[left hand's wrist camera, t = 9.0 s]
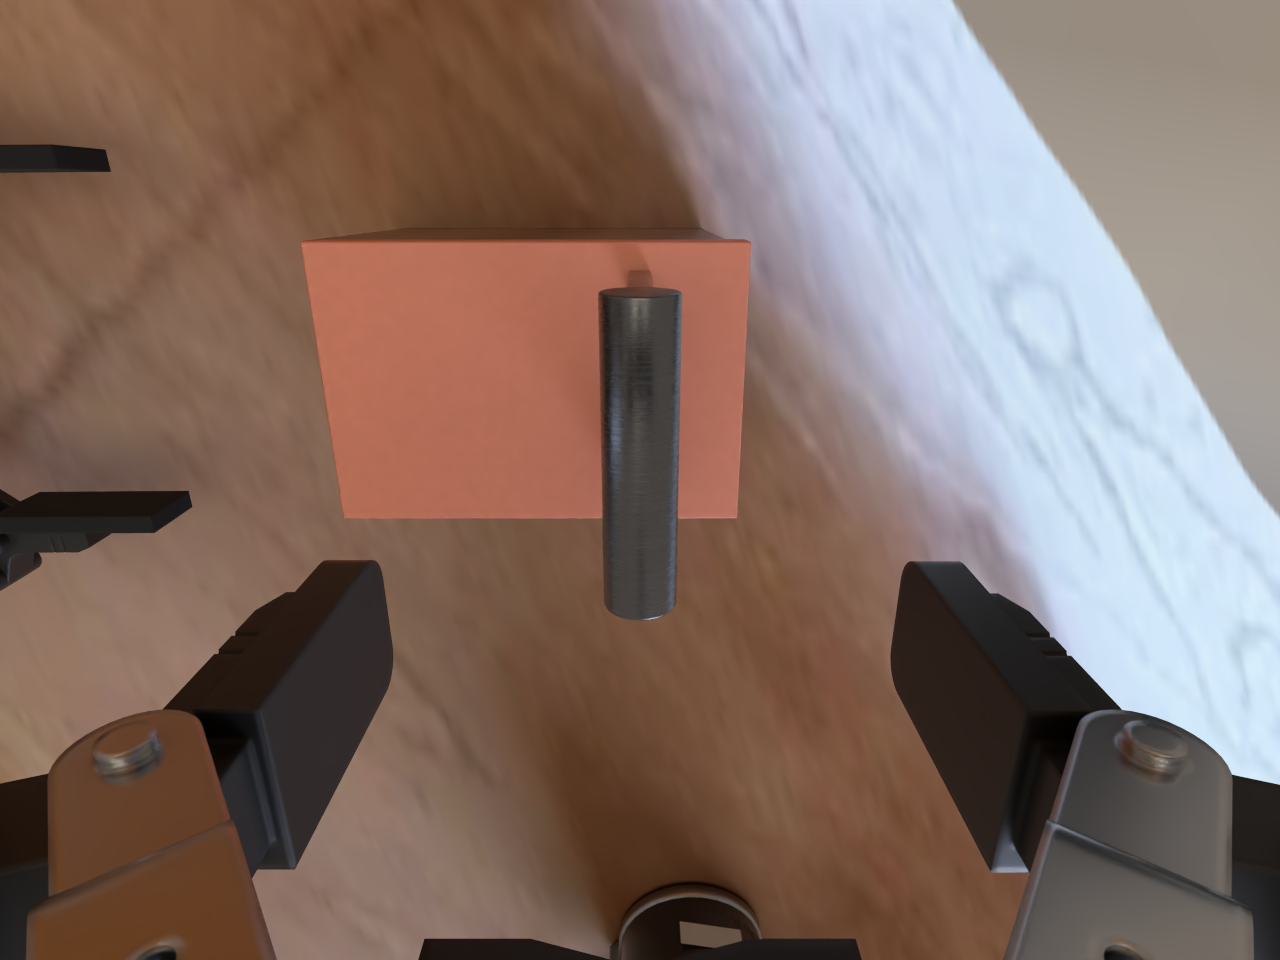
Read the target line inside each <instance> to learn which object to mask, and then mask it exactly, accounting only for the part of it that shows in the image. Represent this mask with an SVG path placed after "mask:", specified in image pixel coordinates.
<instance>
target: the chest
mask: <svg viewBox="0 0 1280 960" xmlns="http://www.w3.org/2000/svg"><path fill="white" fill-rule="evenodd" d="M324 239H723V238H721V237H719V236H716V235H714V234H712V233H710V232H708V231H706V230H703V229H702V228H405V229H397V230H389V231H381V232H373V233H365V234H357V235H349V236H341V237H332V238H324Z"/></svg>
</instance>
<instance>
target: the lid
mask: <svg viewBox="0 0 1280 960" xmlns="http://www.w3.org/2000/svg"><path fill="white" fill-rule="evenodd" d="M301 249H302V255H303V261H304V268H305V274H306V281H307V287H308V293H309V300H310V306H311V312H312V319H313V325H314V332H315V338H316V344H317V351H318V357H319V364H320V370H321V376H322V383H323V389H324V395H325V402H326V408H327V415H328V421H329V427H330V434H331V440H332V447H333V453H334V459H335V466H336V472H337V478H338V485H339V491H340V498H341V504H342V510H343V517H344V518H602V521H603V571H604V604H605V606H606V608H607V609H608V610H609V611H610V612H611V613H613V614H614V615H616V616H618V617H621V618H625V619H630V620H651V619H655V618H659V617H662V616H664V615H666V614H668V613H669V612H670V611H672V609H673V608H674V606H675V604H676V579H677V529H678V518H736V517H737V507H738V488H739V469H740V449H741V430H742V410H743V391H744V371H745V352H746V332H747V313H748V293H749V274H750V254H751V242H750V241H747V240H744V239H316V240H308V241H302V242H301Z"/></svg>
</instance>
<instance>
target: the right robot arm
mask: <svg viewBox="0 0 1280 960" xmlns="http://www.w3.org/2000/svg"><path fill="white" fill-rule="evenodd" d="M8 172H111V171H110V166H109V162H108V158H107V154H106V150H103V149H93V148H82V147H71V146H61V145H0V173H8ZM191 507H192V504H191V499H190V495H189V491H121V492H39V493H37V494H35V495H33V496H31V497H29V498H27V499H24V500H22V501H19V500H17V499H15V498H14V497H12V496H10V495H9V494H7V493H6V492H4V491H2V490H1V489H0V591H1V590H3V589H4V588H6V587H8V586H9V585H11V584H12V583H14V582H16V581H17V580H19V579H21V578H22V577H24V576H26V575H27V574H29V573H30V572H32V571H33V570H35V569H37V568H38V567H40V565H41V563H42V559H41V556H40V554H39V553H38V552H80V551H82V550H85V549H87V548H89V547H91V546H92V545H94V544H96V543H97V542H99V541H100V540H102V539H104V538H105V537H107V536H108V535H110V534H111V533H155V532H156V531H158V530H159V529H161V528H162V527H164V526H165V525H167V524H168V523H170V522H171V521H172V520H174V519H175V518H177V517H178V516H180V515H181V514H183V513H184V512H186V511H187V510H188V509H190V508H191Z"/></svg>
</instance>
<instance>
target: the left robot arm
mask: <svg viewBox="0 0 1280 960" xmlns="http://www.w3.org/2000/svg"><path fill="white" fill-rule="evenodd" d="M1066 652H1067V651H1066V650H1065V649H1064V648H1063V647H1062V646H1061V645H1060V644H1059V643H1058V642H1057V640H1056V639H1055V638H1050V633H1049V632H1048V631H1047V630H1046V629H1045V628H1044V627H1043V626H1042V625H1041V624H1040V622H1039V621H1038V620H1037V619H1036V618H1035V617H1034V616H1033V615H1032V614H1031V613H1030V612H1029V611H1027V610H1025V609H1024V608H1022V607H1020V606H1019V605H1017V604H1015V603H1013V602H1012V601H1010V600H1008V599H1007V598H1005V597H1003V596H1002V595H1000V594H990V593H989V592H988V591H987V590H986V589H985V588H984V586H983V585H982V584H981V583H980V582H979V581H978V580H977V579H976V577H975V576H974V575H973V574H972V573H971V572H970V571H969V570H968V568H967V567H966V566H965V565H964V564H963V563H961V562H957V561H910V562H908V563H907V564H906V565H905V567H904V569H903V572H902V577H901V583H900V590H899V597H898V604H897V611H896V618H895V625H894V632H893V639H892V646H891V671H892V677H893V682H894V685H895V688H896V691H897V693H898V695H899V697H900V699H901V701H902V703H903V705H904V706H905V708H906V710H907V712H908V714H909V716H910V718H911V720H912V722H913V724H914V726H915V728H916V729H917V731H918V733H919V735H920V737H921V739H922V741H923V743H924V745H925V747H926V749H927V751H928V752H929V754H930V756H931V758H932V760H933V762H934V764H935V766H936V768H937V770H938V772H939V774H940V775H941V777H942V779H943V781H944V783H945V785H946V787H947V789H948V791H949V793H950V795H951V797H952V798H953V800H954V802H955V804H956V806H957V808H958V810H959V812H960V814H961V816H962V818H963V820H964V821H965V823H966V825H967V827H968V829H969V831H970V833H971V835H972V837H973V839H974V841H975V843H976V844H977V846H978V848H979V850H980V852H981V854H982V856H983V858H984V860H985V862H986V864H987V866H988V867H989V869H990V871H991V872H1029V873H1030V875H1029V878H1028V881H1027V884H1026V888H1025V891H1024V894H1023V897H1022V901H1021V904H1020V907H1019V910H1018V914H1017V917H1016V920H1015V923H1014V926H1013V930H1012V933H1011V936H1010V939H1009V943H1008V946H1007V949H1006V952H1005V956H1004V959H1003V960H1280V785H1278V784H1273V783H1268V782H1264V781H1259V780H1254V779H1249V778H1244V777H1240V776H1235V775H1232V774H1231V772H1230V769H1229V767H1228V765H1227V764H1226V763H1225V761H1224V760H1223V758H1222V757H1221V756H1220V755H1219V754H1218V753H1217V752H1216V751H1215V750H1214V749H1213V748H1211V747H1210V746H1209V745H1208V744H1206V743H1205V742H1204V741H1202V740H1201V739H1199V738H1198V737H1196V736H1195V735H1193V734H1192V733H1190V732H1188V731H1186V730H1184V729H1183V728H1180V727H1178V726H1176V725H1174V724H1172V723H1170V722H1167V721H1164V720H1162V719H1159V718H1156V717H1153V716H1149V715H1146V714H1142V713H1137V712H1133V711H1125V710H1122V709H1121V708H1120V707H1119V706H1118V705H1117V704H1116V703H1115V702H1114V701H1113V700H1112V699H1111V698H1110V697H1109V696H1108V694H1107V693H1106V692H1105V691H1104V690H1103V689H1102V688H1101V687H1100V686H1099V685H1098V684H1097V683H1096V682H1095V681H1094V680H1093V679H1092V678H1091V676H1090V675H1089V674H1088V673H1087V672H1086V671H1085V670H1084V669H1083V668H1082V667H1081V666H1080V665H1079V664H1078V663H1077V662H1076V661H1075V660H1074V658H1073V657H1072V656H1067V653H1066ZM392 668H393V646H392V639H391V632H390V625H389V618H388V611H387V604H386V596H385V589H384V582H383V576H382V571H381V568H380V566H379V564H378V563H377V562H376V561H374V560H326V561H323V562H321V563H320V564H319V565H318V567H317V568H316V569H315V570H314V571H313V572H312V573H311V575H310V576H309V577H308V578H307V579H306V580H305V581H304V583H303V584H302V585H301V586H300V587H299V588H298V589H297V590H296V592H286V593H284V594H283V595H281V596H279V597H277V598H276V599H274V600H272V601H271V602H269V603H267V604H265V605H264V606H262V607H260V608H259V609H257V610H255V611H254V612H253V614H252V615H251V616H250V617H249V618H248V619H247V620H246V621H245V622H244V623H243V624H242V625H241V626H240V627H239V628H238V630H237V631H236V634H235V636H231V637H230V638H229V639H228V640H227V641H226V642H225V643H224V644H223V646H222V647H221V648H220V649H219V653H218V654H214V655H213V656H212V657H211V658H210V659H209V660H208V662H207V663H206V664H205V665H204V666H203V667H202V668H201V669H200V670H199V671H198V672H197V673H196V674H195V675H194V677H193V678H192V679H191V680H190V681H189V682H188V683H187V684H186V685H185V686H184V687H183V688H182V689H181V690H180V691H179V693H178V694H177V695H176V696H175V697H174V698H173V699H172V700H171V701H170V702H169V703H168V704H167V705H166V706H165V707H164V709H163V710H155V711H147V712H143V713H138V714H134V715H131V716H127V717H124V718H121V719H118V720H116V721H113V722H110V723H108V724H106V725H104V726H102V727H100V728H97V729H96V730H94V731H92V732H90V733H88V734H87V735H85V736H84V737H82V738H81V739H79V740H78V741H76V742H75V743H74V744H72V745H71V746H70V747H69V748H67V749H66V750H65V751H64V752H63V753H62V754H61V755H60V756H59V757H58V758H57V760H56V761H55V763H54V764H53V765H52V767H51V769H50V772H49V774H45V775H40V776H35V777H30V778H25V779H21V780H16V781H11V782H6V783H2V784H0V960H277V959H276V956H275V952H274V949H273V946H272V943H271V939H270V936H269V933H268V930H267V926H266V923H265V920H264V917H263V914H262V910H261V907H260V904H259V901H258V897H257V894H256V891H255V888H254V884H253V881H252V877H253V876H254V874H255V872H256V870H257V869H295V868H296V866H297V864H298V862H299V860H300V858H301V856H302V854H303V852H304V850H305V848H306V847H307V845H308V843H309V841H310V839H311V837H312V835H313V833H314V831H315V829H316V827H317V825H318V823H319V821H320V819H321V817H322V816H323V814H324V812H325V810H326V808H327V806H328V804H329V802H330V800H331V798H332V796H333V794H334V792H335V790H336V788H337V786H338V784H339V783H340V781H341V779H342V777H343V775H344V773H345V771H346V769H347V767H348V765H349V763H350V761H351V759H352V757H353V755H354V753H355V752H356V750H357V748H358V746H359V744H360V742H361V740H362V738H363V736H364V734H365V732H366V730H367V728H368V726H369V724H370V722H371V720H372V719H373V717H374V715H375V713H376V711H377V709H378V707H379V705H380V703H381V701H382V699H383V697H384V695H385V693H386V691H387V689H388V686H389V683H390V679H391V675H392ZM419 960H609V959H606V958H602V957H598V956H594V955H590V954H587V953H583V952H579V951H575V950H571V949H567V948H564V947H560V946H556V945H552V944H548V943H544V942H541V941H537V940H533V939H424V943H423V946H422V949H421V953H420V956H419ZM610 960H861V956H860V953H859V949H858V946H857V943H856V939H762V937H761V931H760V926H759V922H758V920H757V917H756V915H755V914H754V912H753V911H752V909H751V908H750V907H749V906H748V905H747V904H746V903H745V902H744V901H742V900H741V899H740V898H738V897H737V896H735V895H733V894H731V893H729V892H727V891H724V890H721V889H718V888H715V887H710V886H704V885H679V886H673V887H668V888H664V889H661V890H658V891H656V892H654V893H651V894H649V895H647V896H646V897H644V898H643V899H641V900H640V901H638V902H637V903H636V904H635V905H634V906H633V907H632V908H631V909H630V910H629V911H628V912H627V914H626V915H625V917H624V919H623V921H622V923H621V926H620V931H619V940H618V941H617V942H616V943H614V944H613V945H612V946H611V947H610Z"/></svg>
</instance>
